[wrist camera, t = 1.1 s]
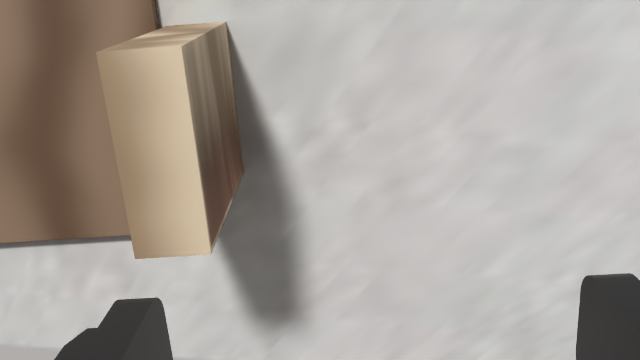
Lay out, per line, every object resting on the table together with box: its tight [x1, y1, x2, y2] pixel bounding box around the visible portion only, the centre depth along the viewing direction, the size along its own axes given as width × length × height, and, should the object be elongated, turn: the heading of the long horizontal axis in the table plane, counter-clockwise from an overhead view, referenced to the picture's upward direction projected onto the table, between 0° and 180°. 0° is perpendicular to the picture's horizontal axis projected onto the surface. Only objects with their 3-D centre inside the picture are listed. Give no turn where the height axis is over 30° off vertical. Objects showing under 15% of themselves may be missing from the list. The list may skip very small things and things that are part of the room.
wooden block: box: [96, 22, 244, 259], centre depth 27 cm, size 3×8×10 cm, turn 4°
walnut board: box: [0, 0, 159, 243], centre depth 32 cm, size 12×14×1 cm
